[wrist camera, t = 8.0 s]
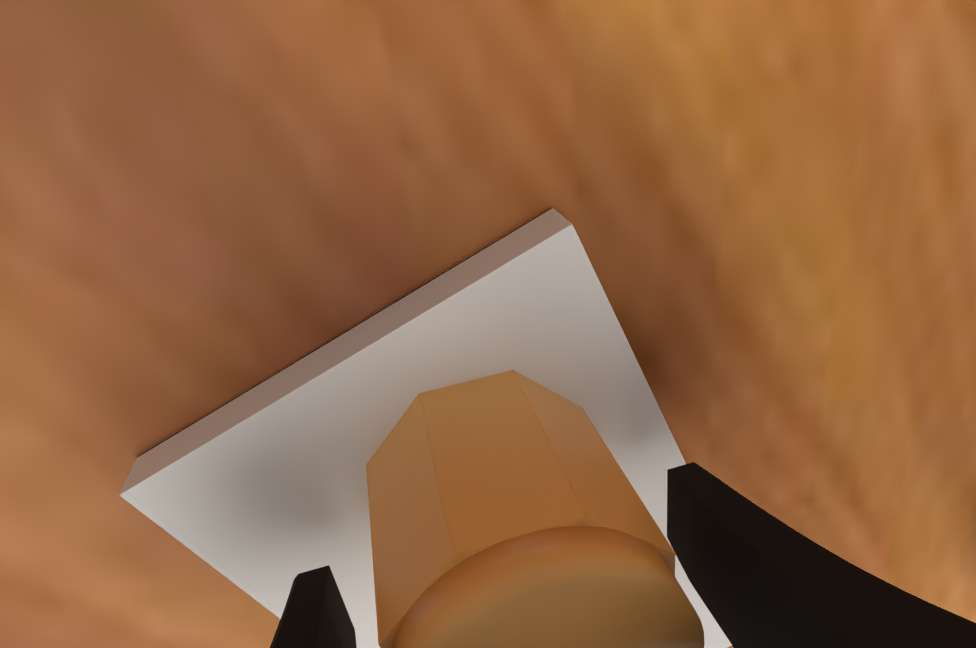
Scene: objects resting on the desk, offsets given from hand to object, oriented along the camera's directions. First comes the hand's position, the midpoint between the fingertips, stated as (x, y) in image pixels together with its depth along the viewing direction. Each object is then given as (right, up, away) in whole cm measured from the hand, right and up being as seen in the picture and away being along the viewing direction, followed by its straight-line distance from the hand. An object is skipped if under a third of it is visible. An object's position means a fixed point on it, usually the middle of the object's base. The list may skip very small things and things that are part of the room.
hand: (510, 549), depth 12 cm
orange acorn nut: (-1, +1, +2) cm, 2 cm away
